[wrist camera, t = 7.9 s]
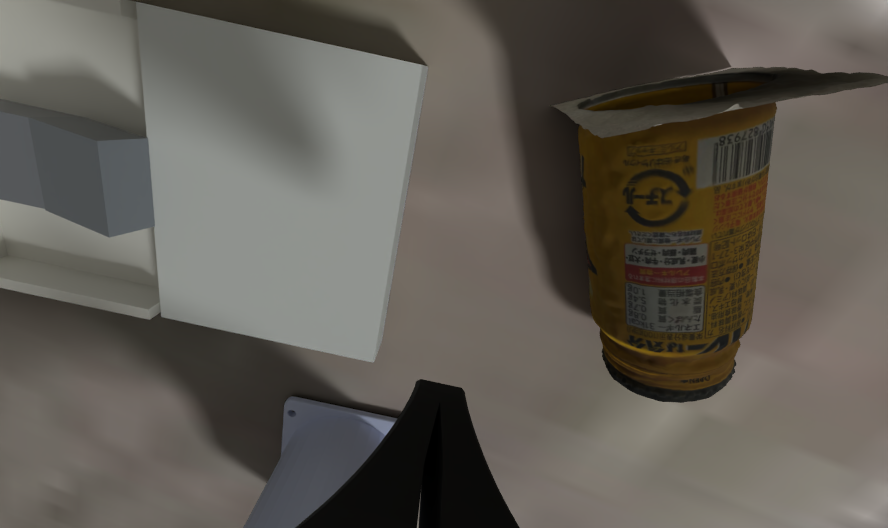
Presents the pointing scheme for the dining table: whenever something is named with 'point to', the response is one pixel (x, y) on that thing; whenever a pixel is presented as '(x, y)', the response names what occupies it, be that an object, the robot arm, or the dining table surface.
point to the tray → (91, 96)
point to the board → (276, 179)
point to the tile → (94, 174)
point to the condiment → (681, 218)
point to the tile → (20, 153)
